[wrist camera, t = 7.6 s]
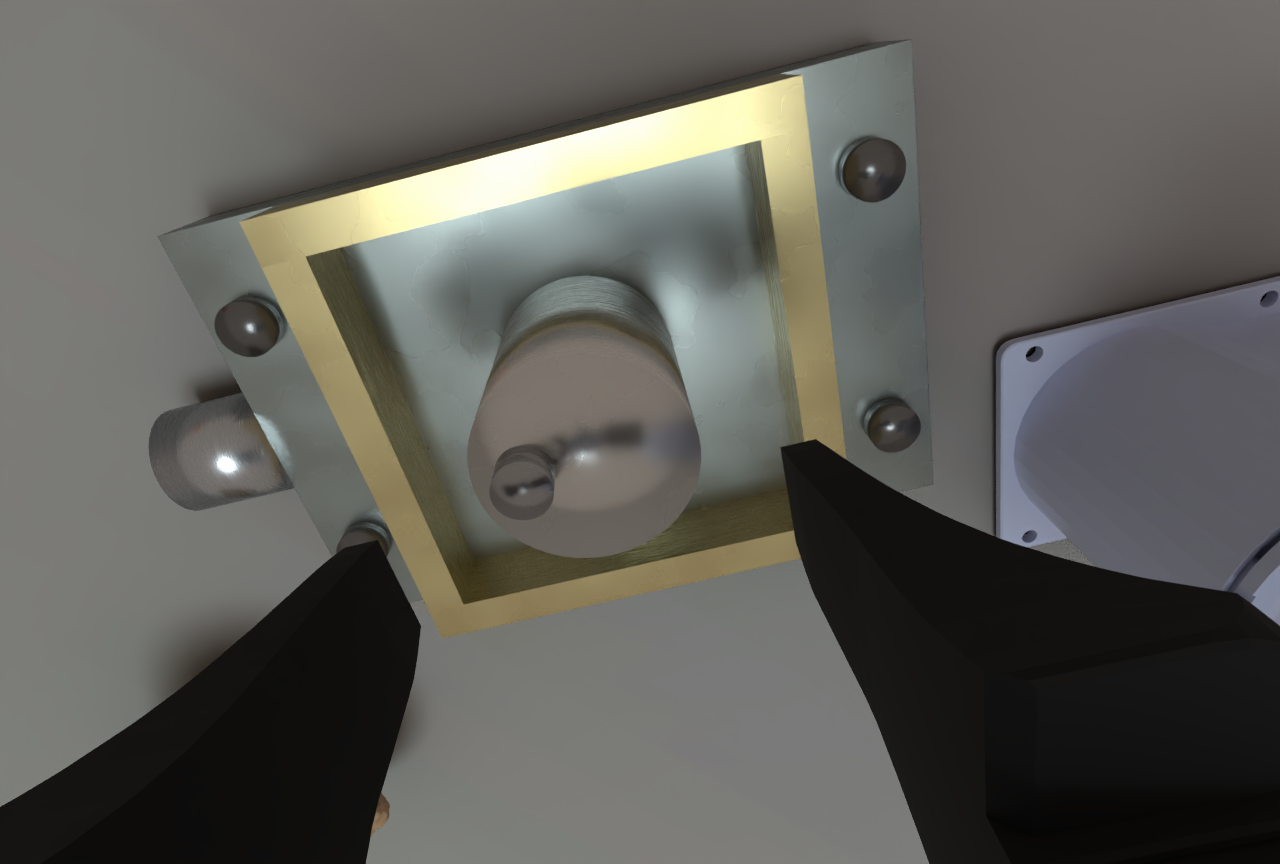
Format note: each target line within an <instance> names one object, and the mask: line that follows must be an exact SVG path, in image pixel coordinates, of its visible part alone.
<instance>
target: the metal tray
mask: <svg viewBox="0 0 1280 864" xmlns="http://www.w3.org/2000/svg"><path fill="white" fill-rule="evenodd" d="M157 237H158V238H159V240H160V242H161V244H162V246H163V248H164V249H165V251H166V253H167V255H168V257H169V259H170V260H171V262H172V264H173V266H174V268H175V270H176V271H177V273H178V275H179V277H180V279H181V281H182V282H183V284H184V286H185V288H186V290H187V292H188V293H189V295H190V297H191V299H192V301H193V303H194V304H195V306H196V308H197V310H198V312H199V314H200V315H201V317H202V319H203V321H204V323H205V325H206V326H207V328H208V330H209V332H210V334H211V336H212V337H213V339H214V341H215V343H216V345H217V347H218V348H219V350H220V352H221V354H222V356H223V358H224V359H225V361H226V363H227V365H228V367H229V369H230V370H231V372H232V374H233V376H234V378H235V380H236V381H237V383H238V385H239V387H240V389H241V391H242V392H241V393H237V394H233V395H229V396H225V397H221V398H217V399H213V400H209V401H205V402H201V403H197V404H193V405H189V406H185V407H180V408H176V409H172V410H169V411H166V412H164V413H163V414H161V415H160V416H159V417H158V418H157V420H156V421H155V423H154V425H153V427H152V429H151V432H150V437H149V456H150V462H151V466H152V469H153V472H154V474H155V477H156V479H157V481H158V483H159V484H160V486H161V488H162V489H163V490H164V492H165V493H166V494H167V495H168V496H169V498H171V499H172V500H173V501H174V502H175V503H177V504H178V505H179V506H181V507H183V508H186V509H189V510H194V511H199V510H204V509H208V508H212V507H217V506H221V505H225V504H229V503H234V502H238V501H242V500H246V499H250V498H255V497H259V496H263V495H267V494H271V493H276V492H280V491H284V490H288V489H292V488H295V489H296V491H297V493H298V495H299V497H300V499H301V500H302V502H303V504H304V506H305V508H306V510H307V511H308V513H309V515H310V517H311V519H312V521H313V522H314V524H315V526H316V528H317V530H318V532H319V533H320V535H321V537H322V539H323V541H324V543H325V544H326V546H327V548H328V550H329V552H330V554H331V555H332V557H333V556H334V555H335V554H337V553H338V552H340V551H341V550H342V549H344V548H345V547H349V546H353V545H358V544H362V543H366V542H371V541H375V540H378V541H379V543H380V545H381V547H382V549H383V551H384V553H385V555H386V557H387V559H388V561H389V563H390V565H391V567H392V569H393V571H394V573H395V575H396V577H397V579H398V581H399V583H400V585H401V587H402V589H403V591H404V593H405V595H406V597H407V599H408V601H409V603H410V602H414V601H419V600H424V602H425V604H426V606H427V608H428V610H429V612H430V614H431V616H432V618H433V620H434V622H435V624H436V626H437V628H438V630H439V633H440V635H441V637H442V638H446V637H450V636H455V635H459V634H464V633H468V632H473V631H477V630H482V629H486V628H491V627H495V626H500V625H504V624H508V623H513V622H517V621H522V620H526V619H531V618H535V617H540V616H544V615H549V614H553V613H558V612H562V611H567V610H571V609H576V608H580V607H585V606H589V605H594V604H598V603H603V602H607V601H612V600H616V599H621V598H625V597H630V596H634V595H639V594H643V593H648V592H652V591H657V590H661V589H666V588H670V587H675V586H679V585H684V584H688V583H693V582H697V581H702V580H706V579H711V578H715V577H720V576H724V575H729V574H733V573H738V572H742V571H747V570H751V569H756V568H760V567H765V566H769V565H774V564H778V563H783V562H787V561H792V560H796V559H801V556H800V553H799V550H798V547H797V545H796V540H795V534H794V528H793V522H792V516H791V510H790V504H789V498H788V492H787V485H786V479H785V473H784V467H783V461H782V455H781V449H780V447H783V446H788V445H792V444H797V443H801V442H805V441H810V440H814V439H816V440H818V441H819V442H821V443H822V444H824V445H826V446H827V447H829V448H830V449H832V450H833V451H835V452H836V453H837V454H839V455H840V456H842V457H843V458H845V459H846V460H848V461H849V462H851V463H852V464H854V465H855V466H857V467H858V468H860V469H861V470H863V471H865V472H866V473H868V474H869V475H871V476H872V477H874V478H876V479H877V480H879V481H881V482H882V483H884V484H886V485H887V486H889V487H891V488H892V489H894V490H896V491H898V492H901V491H906V490H910V489H914V488H919V487H923V486H928V485H932V484H933V465H932V445H931V425H930V404H929V384H928V364H927V344H926V323H925V303H924V283H923V263H922V243H921V222H920V202H919V182H918V162H917V141H916V121H915V101H914V81H913V61H912V40H911V39H910V40H898V41H886V42H874V43H869V44H866V45H862V46H858V47H854V48H850V49H846V50H843V51H839V52H835V53H831V54H827V55H824V56H820V57H816V58H812V59H808V60H804V61H801V62H797V63H793V64H789V65H785V66H782V67H778V68H774V69H770V70H766V71H762V72H759V73H755V74H751V75H747V76H743V77H740V78H736V79H732V80H728V81H724V82H720V83H717V84H713V85H709V86H705V87H701V88H698V89H694V90H690V91H686V92H682V93H679V94H675V95H671V96H667V97H663V98H659V99H656V100H652V101H648V102H644V103H640V104H637V105H633V106H629V107H625V108H621V109H617V110H614V111H610V112H606V113H602V114H598V115H595V116H591V117H587V118H583V119H579V120H575V121H572V122H568V123H564V124H560V125H556V126H553V127H549V128H545V129H541V130H537V131H533V132H530V133H526V134H522V135H518V136H514V137H511V138H507V139H503V140H499V141H495V142H491V143H488V144H484V145H480V146H476V147H472V148H469V149H465V150H461V151H457V152H453V153H449V154H446V155H442V156H438V157H434V158H430V159H427V160H423V161H419V162H415V163H411V164H408V165H404V166H400V167H396V168H392V169H388V170H385V171H381V172H377V173H373V174H369V175H366V176H362V177H358V178H354V179H350V180H346V181H343V182H339V183H335V184H331V185H327V186H324V187H320V188H316V189H312V190H308V191H304V192H301V193H297V194H293V195H289V196H285V197H282V198H278V199H274V200H270V201H266V202H262V203H259V204H255V205H251V206H247V207H243V208H240V209H236V210H232V211H228V212H224V213H220V214H217V215H213V216H209V217H206V218H204V219H201V220H199V221H196V222H193V223H191V224H188V225H186V226H183V227H181V228H178V229H175V230H173V231H170V232H168V233H165V234H163V235H160V236H157ZM574 276H598V277H604V278H609V279H612V280H615V281H618V282H621V283H623V284H625V285H627V286H629V287H631V288H633V289H634V290H636V291H637V292H639V293H641V294H642V295H643V296H644V297H645V298H646V299H648V300H649V301H650V302H651V303H652V305H653V306H654V307H655V308H656V309H657V310H658V312H659V313H660V315H661V316H662V318H663V319H664V321H665V323H666V325H667V327H668V330H669V333H670V336H671V339H672V343H673V346H674V350H675V353H676V357H677V360H678V364H679V367H680V371H681V374H682V378H683V381H684V385H685V388H686V392H687V395H688V399H689V402H690V406H691V409H692V413H693V416H694V420H695V423H696V427H697V430H698V434H699V439H700V445H701V467H700V474H699V478H698V482H697V485H696V488H695V490H694V493H693V495H692V497H691V499H690V501H689V502H688V504H687V506H686V507H685V509H684V510H683V512H682V513H681V514H680V515H679V517H678V518H677V519H676V520H675V521H674V522H673V523H672V524H671V525H670V526H669V527H668V528H667V529H666V530H664V531H663V532H662V533H660V534H659V535H658V536H656V537H655V538H653V539H652V540H650V541H648V542H646V543H645V544H643V545H640V546H638V547H636V548H634V549H631V550H628V551H625V552H622V553H619V554H615V555H609V556H604V557H594V558H573V557H566V556H559V555H555V554H551V553H546V552H544V551H541V550H538V549H535V548H533V547H531V546H529V545H527V544H525V543H522V542H521V541H519V540H517V539H516V538H514V537H513V536H511V535H510V534H508V533H507V532H506V531H505V530H503V529H502V528H501V527H500V526H499V525H498V524H497V523H496V522H495V521H494V520H493V519H492V518H491V517H490V516H489V515H488V513H487V512H486V510H485V509H484V508H483V506H482V505H481V503H480V501H479V499H478V498H477V496H476V494H475V492H474V489H473V486H472V483H471V480H470V476H469V471H468V464H467V448H468V439H469V436H470V432H471V428H472V425H473V422H474V419H475V416H476V413H477V410H478V407H479V404H480V401H481V398H482V395H483V392H484V389H485V386H486V383H487V380H488V378H489V375H490V372H491V369H492V366H493V363H494V360H495V357H496V354H497V351H498V348H499V345H500V342H501V339H502V336H503V333H504V330H505V328H506V326H507V323H508V321H509V319H510V318H511V316H512V314H513V313H514V311H515V310H516V309H517V308H518V306H519V305H520V304H521V303H522V302H523V301H524V300H525V299H526V298H527V297H528V296H529V295H531V294H532V293H533V292H535V291H536V290H538V289H539V288H541V287H543V286H545V285H547V284H549V283H551V282H554V281H557V280H560V279H564V278H568V277H574Z"/></svg>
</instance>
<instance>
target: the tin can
mask: <svg viewBox="0 0 1280 864" xmlns="http://www.w3.org/2000/svg"><path fill="white" fill-rule="evenodd" d="M467 464H468V471H469V476H470V480H471V483H472V486H473V489H474V492H475V494H476V496H477V498H478V499H479V501H480V503H481V505H482V506H483V508H484V509H485V510H486V512H487V513H488V515H489V516H490V517H491V518H492V519H493V520H494V521H495V522H496V523H497V524H498V525H499V526H500V527H501V528H502V529H503V530H505V531H506V532H507V533H508V534H510V535H511V536H513V537H514V538H516V539H517V540H519V541H521V542H522V543H525V544H527V545H529V546H531V547H533V548H535V549H538V550H541V551H544V552H546V553H551V554H555V555H559V556H566V557H573V558H594V557H604V556H609V555H615V554H619V553H622V552H625V551H628V550H631V549H634V548H636V547H638V546H640V545H643V544H645V543H646V542H648V541H650V540H652V539H653V538H655V537H656V536H658V535H659V534H660V533H662V532H663V531H664V530H666V529H667V528H668V527H669V526H670V525H671V524H672V523H673V522H674V521H675V520H676V519H677V518H678V517H679V515H680V514H681V513H682V512H683V510H684V509H685V507H686V506H687V504H688V502H689V501H690V499H691V497H692V495H693V493H694V490H695V488H696V485H697V482H698V478H699V474H700V467H701V445H700V439H699V434H698V430H697V427H696V423H695V420H694V416H693V413H692V409H691V406H690V402H689V399H688V395H687V392H686V388H685V385H684V381H683V378H682V374H681V371H680V367H679V364H678V360H677V357H676V353H675V350H674V346H673V343H672V339H671V336H670V333H669V330H668V327H667V325H666V323H665V321H664V319H663V318H662V316H661V315H660V313H659V312H658V310H657V309H656V308H655V307H654V306H653V305H652V303H651V302H650V301H649V300H648V299H646V298H645V297H644V296H643V295H642V294H641V293H639V292H637V291H636V290H634V289H633V288H631V287H629V286H627V285H625V284H623V283H621V282H618V281H615V280H612V279H609V278H604V277H598V276H574V277H568V278H564V279H560V280H557V281H554V282H551V283H549V284H547V285H545V286H543V287H541V288H539V289H538V290H536V291H535V292H533V293H532V294H531V295H529V296H528V297H527V298H526V299H525V300H524V301H523V302H522V303H521V304H520V305H519V306H518V308H517V309H516V310H515V311H514V313H513V314H512V316H511V318H510V319H509V321H508V323H507V326H506V328H505V330H504V333H503V336H502V339H501V342H500V345H499V348H498V351H497V354H496V357H495V360H494V363H493V366H492V369H491V372H490V375H489V378H488V380H487V383H486V386H485V389H484V392H483V395H482V398H481V401H480V404H479V407H478V410H477V413H476V416H475V419H474V422H473V425H472V428H471V432H470V436H469V439H468V448H467Z"/></svg>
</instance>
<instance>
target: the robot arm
mask: <svg viewBox="0 0 1280 864" xmlns="http://www.w3.org/2000/svg"><path fill="white" fill-rule="evenodd" d="M1265 293H1267V295H1266V297H1265V299H1264V300H1263V301H1262V302H1260V300H1261V298H1262V296H1263V295H1264V294H1265ZM1034 346H1036V350H1035V352H1034V353H1033V354H1032V355H1031V356H1029V357H1026V353H1027V351H1028V350H1029V349H1030V348H1032V347H1034ZM780 449H781V455H782V461H783V467H784V473H785V479H786V485H787V492H788V498H789V504H790V510H791V516H792V522H793V528H794V534H795V540H796V545H797V547H798V550H799V553H800V556H801V559H802V562H803V565H804V568H805V571H806V574H807V576H808V579H809V582H810V585H811V587H812V590H813V593H814V595H815V597H816V599H817V601H818V603H819V605H820V607H821V609H822V611H823V613H824V615H825V617H826V619H827V621H828V623H829V625H830V627H831V629H832V631H833V633H834V635H835V637H836V639H837V641H838V643H839V645H840V647H841V649H842V651H843V653H844V655H845V657H846V659H847V661H848V663H849V665H850V667H851V669H852V671H853V673H854V675H855V677H856V679H857V681H858V683H859V685H860V687H861V689H862V691H863V693H864V695H865V697H866V699H867V701H868V703H869V706H870V708H871V710H872V712H873V715H874V717H875V719H876V721H877V724H878V726H879V729H880V732H881V734H882V737H883V740H884V742H885V745H886V747H887V750H888V753H889V755H890V758H891V761H892V763H893V766H894V768H895V771H896V774H897V776H898V779H899V782H900V784H901V787H902V790H903V793H904V795H905V798H906V801H907V803H908V806H909V809H910V812H911V814H912V817H913V820H914V822H915V825H916V828H917V831H918V833H919V836H920V839H921V841H922V844H923V847H924V850H925V853H926V855H927V858H928V861H929V864H1280V276H1277V277H1273V278H1269V279H1265V280H1260V281H1256V282H1252V283H1248V284H1243V285H1239V286H1235V287H1231V288H1226V289H1222V290H1218V291H1214V292H1210V293H1205V294H1201V295H1197V296H1193V297H1188V298H1184V299H1180V300H1176V301H1171V302H1167V303H1163V304H1159V305H1154V306H1150V307H1146V308H1142V309H1137V310H1133V311H1129V312H1125V313H1121V314H1116V315H1112V316H1108V317H1104V318H1099V319H1095V320H1091V321H1087V322H1082V323H1078V324H1074V325H1070V326H1065V327H1061V328H1057V329H1053V330H1049V331H1044V332H1040V333H1036V334H1032V335H1027V336H1023V337H1019V338H1015V339H1011V340H1009V341H1006V342H1005V343H1004V344H1003V345H1001V346H1000V348H999V350H998V351H997V355H996V537H995V536H992V535H990V534H987V533H985V532H982V531H980V530H977V529H975V528H972V527H970V526H968V525H965V524H963V523H960V522H958V521H955V520H953V519H951V518H949V517H947V516H944V515H942V514H940V513H938V512H936V511H934V510H932V509H930V508H928V507H926V506H924V505H922V504H920V503H918V502H916V501H914V500H912V499H910V498H908V497H907V496H905V495H903V494H901V493H899V492H898V491H896V490H894V489H892V488H891V487H889V486H887V485H886V484H884V483H882V482H881V481H879V480H877V479H876V478H874V477H872V476H871V475H869V474H868V473H866V472H865V471H863V470H861V469H860V468H858V467H857V466H855V465H854V464H852V463H851V462H849V461H848V460H846V459H845V458H843V457H842V456H840V455H839V454H837V453H836V452H835V451H833V450H832V449H830V448H829V447H827V446H826V445H824V444H822V443H821V442H819V441H818V440H816V439H814V440H810V441H805V442H801V443H797V444H792V445H788V446H783V447H780ZM1027 531H1030V532H1029V533H1028V534H1027V535H1025V536H1023V535H1024V534H1025V533H1026V532H1027ZM1067 538H1068V539H1069V540H1070V541H1071V542H1072V543H1073V544H1074V545H1075V546H1076V547H1077V548H1078V549H1079V550H1080V551H1081V552H1082V553H1083V554H1084V555H1085V556H1086V557H1087V558H1088V559H1089V560H1090V561H1091V562H1092V563H1093V564H1094V565H1095V566H1096V567H1094V566H1089V565H1086V564H1082V563H1078V562H1074V561H1071V560H1067V559H1063V558H1059V557H1056V556H1053V555H1050V554H1046V553H1043V552H1040V551H1037V550H1034V549H1030V548H1027V547H1031V546H1035V545H1040V544H1045V543H1049V542H1054V541H1058V540H1063V539H1067ZM420 629H421V625H420V623H419V621H418V619H417V617H416V615H415V613H414V611H413V609H412V607H411V605H410V603H409V601H408V599H407V597H406V595H405V593H404V591H403V589H402V587H401V585H400V583H399V581H398V579H397V577H396V575H395V573H394V571H393V569H392V567H391V565H390V563H389V561H388V559H387V557H386V555H385V553H384V551H383V549H382V547H381V545H380V543H379V541H378V540H375V541H371V542H366V543H362V544H358V545H353V546H349V547H345V548H344V549H342V550H341V551H340V552H338V553H337V554H335V555H334V556H333V557H332V558H330V559H329V560H328V561H327V562H326V563H324V564H323V565H322V566H321V567H320V568H319V569H317V570H316V571H315V572H314V573H313V574H312V575H311V576H310V577H308V578H307V579H306V580H305V581H304V582H303V583H302V584H301V585H300V586H299V587H297V588H296V589H295V590H294V591H293V592H292V593H291V594H290V595H289V596H288V597H286V598H285V599H284V600H283V601H282V602H281V603H280V604H279V605H278V606H277V607H275V608H274V609H273V610H272V611H271V612H270V613H269V614H268V615H267V616H266V617H264V618H263V619H262V620H261V621H260V622H259V623H258V624H257V625H256V626H255V627H253V628H252V629H251V630H250V631H249V632H248V633H246V634H245V635H244V636H243V637H242V638H241V639H239V640H238V641H237V642H236V643H235V644H234V645H232V646H231V647H230V648H229V649H228V650H227V651H225V652H224V653H223V654H222V655H221V656H220V657H218V658H217V659H216V660H215V661H214V662H213V663H211V664H210V665H209V666H208V667H207V668H206V669H204V670H203V671H202V672H201V673H199V674H198V675H197V676H196V677H194V678H193V679H192V680H191V681H189V682H188V683H187V684H186V685H184V686H183V687H182V688H180V689H179V690H178V691H177V692H175V693H174V694H173V695H171V696H170V697H169V698H167V699H166V700H165V701H163V702H162V703H161V704H159V705H158V706H156V707H155V708H154V709H152V710H151V711H150V712H148V713H147V714H146V715H144V716H143V717H142V718H140V719H139V720H137V721H136V722H134V723H133V724H132V725H130V726H129V727H127V728H126V729H124V730H123V731H121V732H120V733H118V734H117V735H115V736H114V737H112V738H111V739H109V740H108V741H106V742H105V743H103V744H102V745H100V746H98V747H97V748H95V749H94V750H92V751H91V752H89V753H88V754H86V755H85V756H83V757H82V758H80V759H79V760H77V761H76V762H74V763H73V764H71V765H70V766H68V767H67V768H65V769H63V770H62V771H60V772H59V773H57V774H55V775H54V776H52V777H50V778H49V779H47V780H45V781H44V782H42V783H40V784H39V785H37V786H35V787H34V788H32V789H30V790H29V791H27V792H25V793H24V794H22V795H20V796H19V797H17V798H15V799H13V800H12V801H10V802H8V803H6V804H5V805H3V806H1V807H0V864H366V858H367V853H368V847H369V842H370V836H371V831H372V826H373V822H374V818H375V814H376V810H377V806H378V802H379V798H380V794H381V791H382V787H383V784H384V781H385V777H386V774H387V770H388V767H389V764H390V760H391V757H392V753H393V750H394V747H395V743H396V740H397V736H398V733H399V730H400V726H401V723H402V719H403V716H404V712H405V709H406V705H407V702H408V698H409V695H410V691H411V687H412V683H413V680H414V674H415V668H416V662H417V655H418V647H419V638H420Z"/></svg>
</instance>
